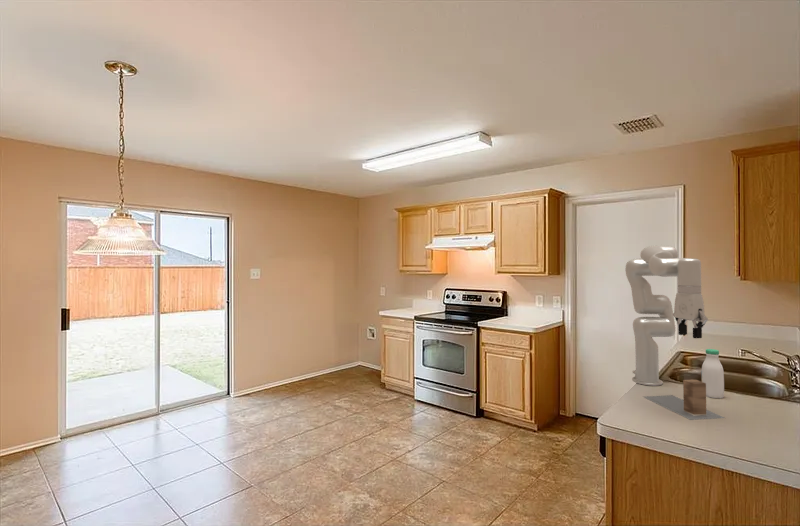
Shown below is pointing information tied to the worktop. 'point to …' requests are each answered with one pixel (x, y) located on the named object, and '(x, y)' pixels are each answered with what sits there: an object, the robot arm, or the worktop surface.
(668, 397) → the mat
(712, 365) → the milk bottle
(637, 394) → the worktop surface
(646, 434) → the worktop surface
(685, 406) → the walnut block
